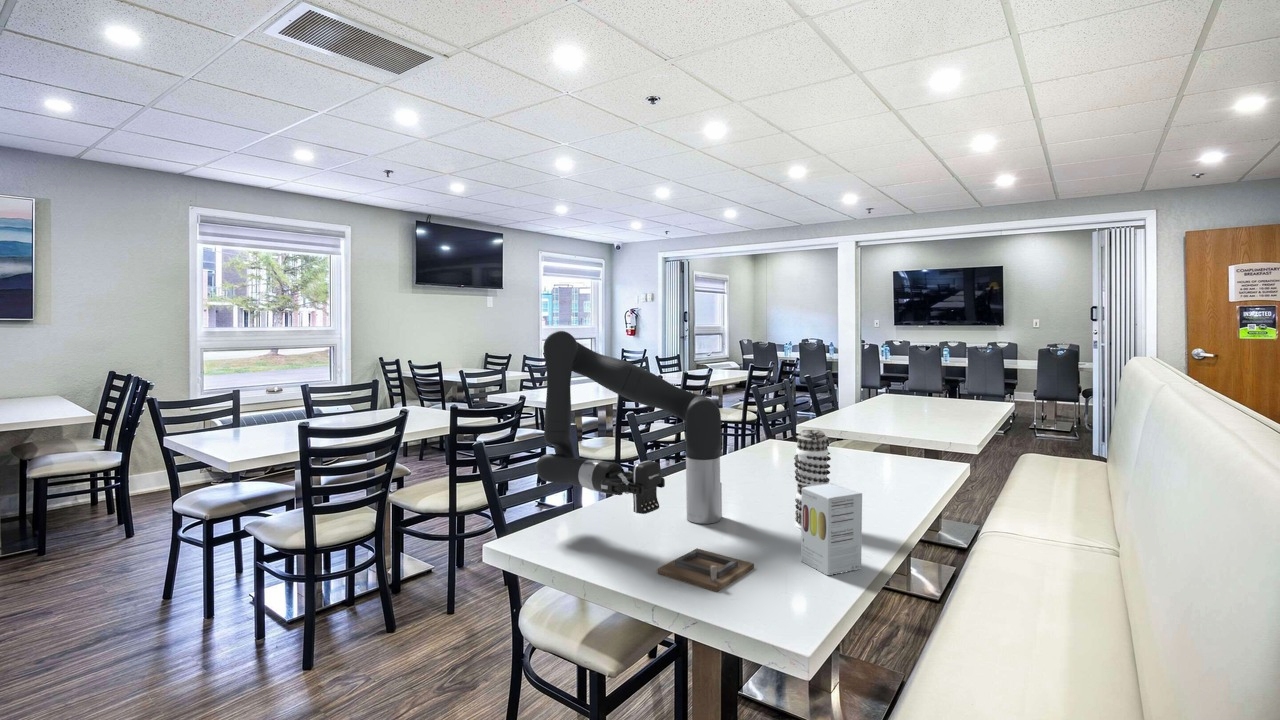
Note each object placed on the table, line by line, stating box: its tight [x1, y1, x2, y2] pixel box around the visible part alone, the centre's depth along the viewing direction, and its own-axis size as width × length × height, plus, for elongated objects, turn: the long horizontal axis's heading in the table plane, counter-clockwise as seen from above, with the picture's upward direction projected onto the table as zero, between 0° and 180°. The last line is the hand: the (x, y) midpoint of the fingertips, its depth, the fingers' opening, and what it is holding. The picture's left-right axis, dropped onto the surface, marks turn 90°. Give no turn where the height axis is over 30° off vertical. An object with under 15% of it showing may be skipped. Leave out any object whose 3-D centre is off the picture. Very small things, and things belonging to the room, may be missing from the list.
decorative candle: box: [793, 429, 832, 530], centre depth 159 cm, size 9×9×25 cm
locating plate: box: [656, 548, 755, 593], centre depth 132 cm, size 15×15×4 cm
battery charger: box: [631, 460, 662, 515], centre depth 141 cm, size 7×4×11 cm, turn 139°
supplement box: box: [800, 482, 863, 576], centre depth 134 cm, size 10×9×17 cm
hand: (653, 486), depth 140 cm, fingers closed on battery charger, 7 cm apart
